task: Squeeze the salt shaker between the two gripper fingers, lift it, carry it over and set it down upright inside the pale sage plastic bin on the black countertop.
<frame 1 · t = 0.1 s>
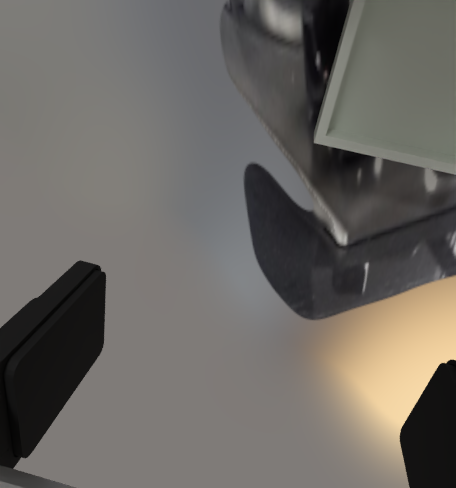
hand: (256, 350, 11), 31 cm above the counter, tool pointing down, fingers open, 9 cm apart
sage bin: (413, 71, 34), on the counter
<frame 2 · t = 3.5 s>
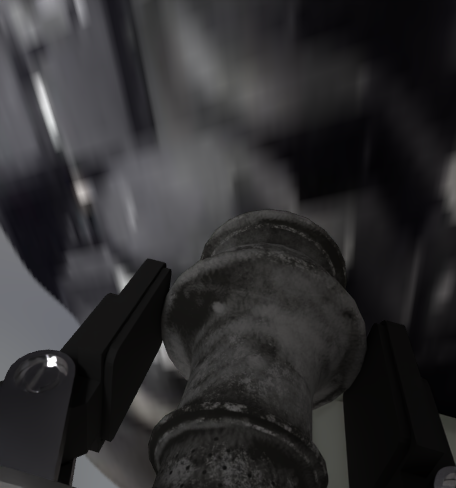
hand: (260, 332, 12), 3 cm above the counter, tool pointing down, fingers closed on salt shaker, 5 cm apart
salt shaker: (271, 274, 15), on the counter, touching gripper
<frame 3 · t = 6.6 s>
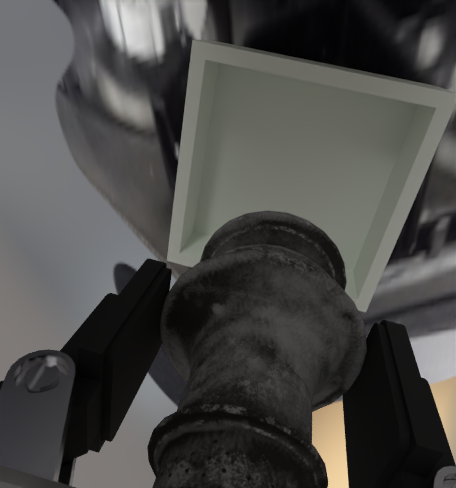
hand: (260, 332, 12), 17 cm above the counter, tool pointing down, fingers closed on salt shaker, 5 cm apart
sage bin: (292, 170, 27), on the counter
salt shaker: (271, 275, 15), point 14 cm above the counter, touching gripper
when the fingers open (5 cm above the counter, at t = 9.7 s): salt shaker drops 1 cm, resting on sage bin.
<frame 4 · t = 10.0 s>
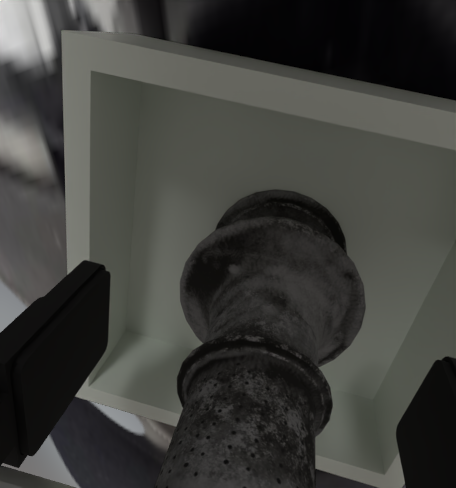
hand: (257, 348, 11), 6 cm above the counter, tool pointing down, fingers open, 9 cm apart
sage bin: (276, 247, 16), on the counter
salt shaker: (277, 251, 16), point 1 cm above the counter, touching sage bin
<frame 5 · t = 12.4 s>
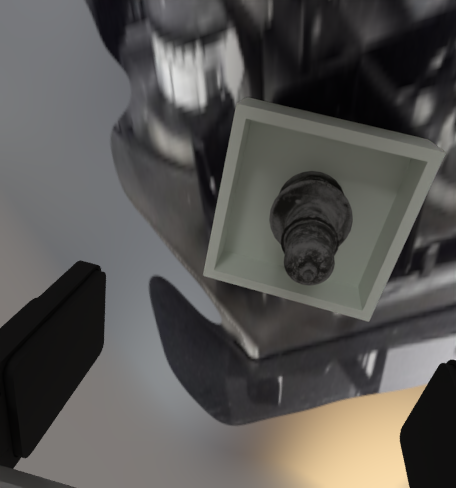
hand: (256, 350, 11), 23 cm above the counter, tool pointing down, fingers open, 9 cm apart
sage bin: (309, 202, 32), on the counter
salt shaker: (310, 202, 32), point 1 cm above the counter, touching sage bin
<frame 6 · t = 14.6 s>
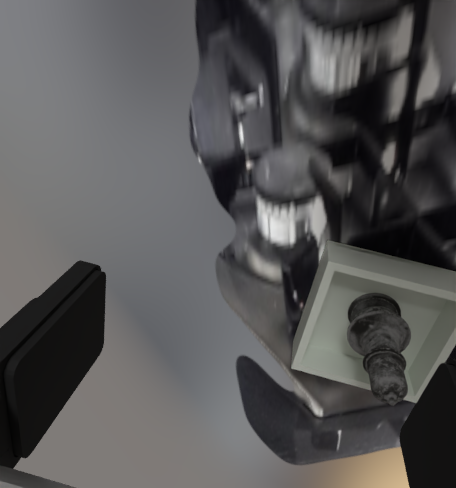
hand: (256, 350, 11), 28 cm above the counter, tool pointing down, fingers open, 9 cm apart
sage bin: (371, 310, 42), on the counter
salt shaker: (373, 312, 42), point 1 cm above the counter, touching sage bin
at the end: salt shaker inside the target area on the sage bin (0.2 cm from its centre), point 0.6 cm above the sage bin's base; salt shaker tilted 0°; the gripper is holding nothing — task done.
